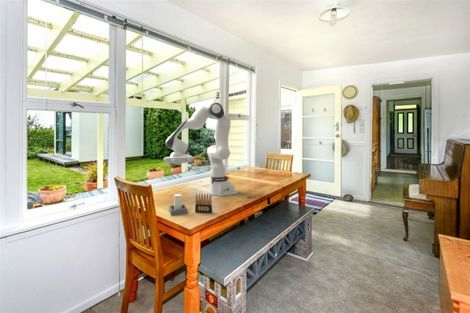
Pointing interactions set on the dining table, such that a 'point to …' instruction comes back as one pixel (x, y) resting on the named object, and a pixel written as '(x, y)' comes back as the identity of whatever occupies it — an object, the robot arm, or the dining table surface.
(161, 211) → the dining table surface
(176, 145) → the robot arm
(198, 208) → the ammunition clip
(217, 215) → the dining table surface
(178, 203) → the cream block
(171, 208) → the box
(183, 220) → the dining table surface
